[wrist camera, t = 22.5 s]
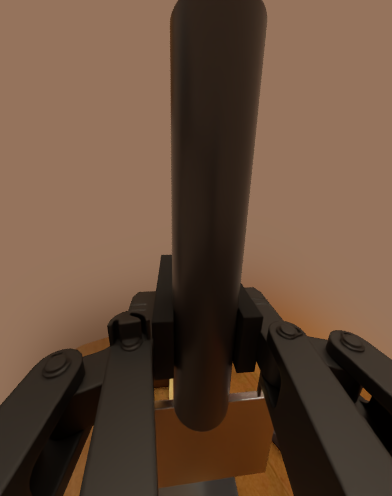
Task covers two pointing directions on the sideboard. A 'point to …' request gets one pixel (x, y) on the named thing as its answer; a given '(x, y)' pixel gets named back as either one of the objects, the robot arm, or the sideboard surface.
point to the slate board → (203, 488)
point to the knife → (211, 241)
